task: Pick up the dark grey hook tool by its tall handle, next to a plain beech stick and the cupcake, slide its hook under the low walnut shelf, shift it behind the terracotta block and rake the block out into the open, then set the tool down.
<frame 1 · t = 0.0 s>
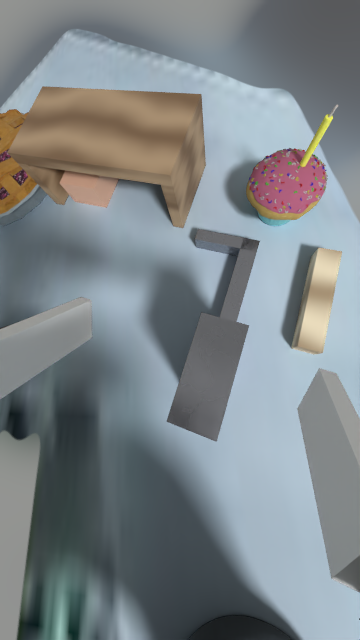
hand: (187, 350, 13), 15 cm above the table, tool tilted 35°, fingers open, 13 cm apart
shelf: (127, 185, 35), on the table
pie: (12, 181, 41), on the table
hook tool: (212, 371, 27), on the table
plain stick: (311, 304, 27), on the table
block: (98, 189, 36), on the table
cupcake: (275, 212, 30), on the table
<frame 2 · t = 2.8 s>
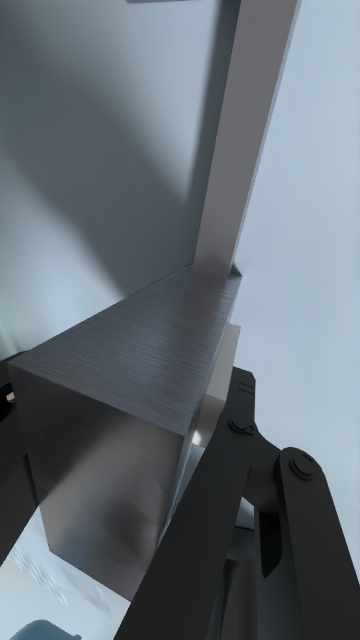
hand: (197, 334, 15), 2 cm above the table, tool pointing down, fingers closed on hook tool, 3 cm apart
hook tool: (202, 324, 16), on the table, touching gripper
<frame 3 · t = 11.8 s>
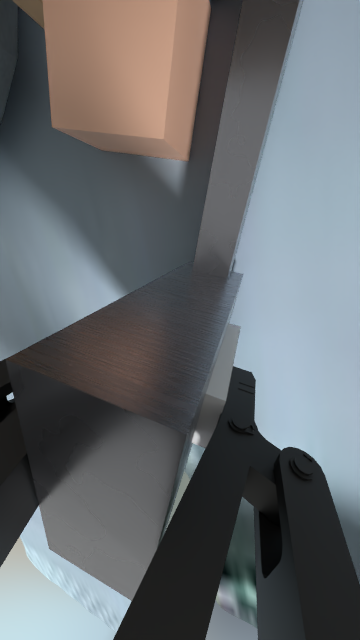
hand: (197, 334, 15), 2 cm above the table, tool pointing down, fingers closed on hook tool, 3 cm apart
hook tool: (202, 323, 16), point 1 cm above the table, touching block, gripper
block: (148, 91, 12), on the table, touching hook tool
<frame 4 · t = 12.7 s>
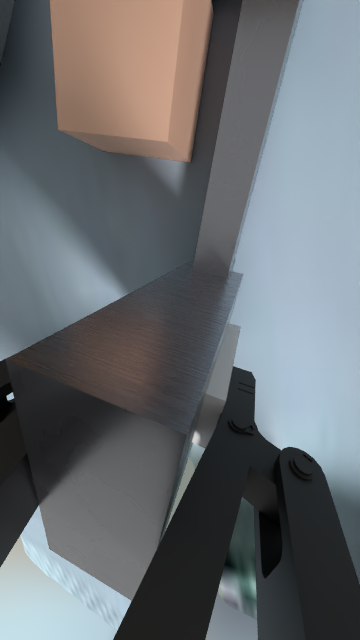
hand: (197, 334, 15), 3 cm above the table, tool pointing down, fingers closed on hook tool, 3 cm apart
hook tool: (202, 323, 16), point 1 cm above the table, touching gripper
block: (151, 94, 13), on the table
when the fingers open (2 cm above the table, at t = 13.5 s): hook tool stays where it is, on the table.
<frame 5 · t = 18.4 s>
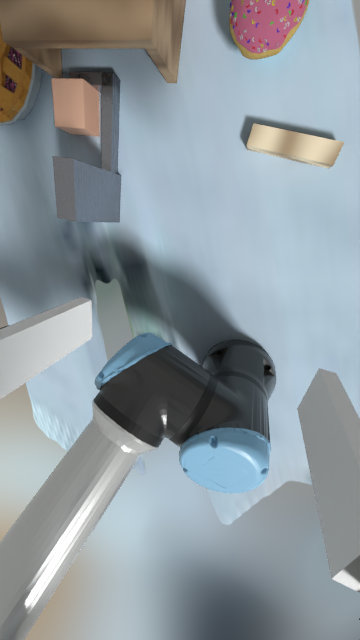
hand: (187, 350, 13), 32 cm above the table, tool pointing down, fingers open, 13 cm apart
shelf: (112, 31, 34), on the table
pie: (3, 55, 40), on the table
hook tool: (112, 198, 43), on the table
plain stick: (290, 149, 32), on the table
block: (85, 114, 39), on the table
cupcake: (267, 35, 29), on the table
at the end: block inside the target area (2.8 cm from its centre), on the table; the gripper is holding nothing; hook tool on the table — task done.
